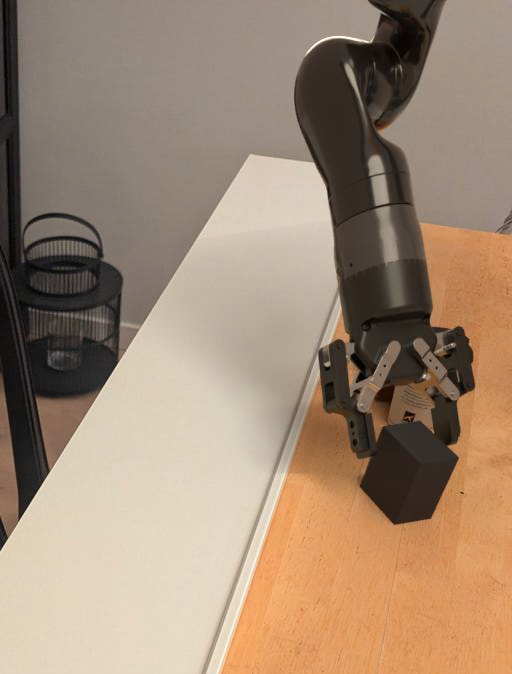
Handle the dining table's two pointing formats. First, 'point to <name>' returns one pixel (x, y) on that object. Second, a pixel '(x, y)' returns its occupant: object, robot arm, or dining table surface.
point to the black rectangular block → (408, 472)
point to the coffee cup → (415, 399)
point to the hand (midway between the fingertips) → (408, 451)
